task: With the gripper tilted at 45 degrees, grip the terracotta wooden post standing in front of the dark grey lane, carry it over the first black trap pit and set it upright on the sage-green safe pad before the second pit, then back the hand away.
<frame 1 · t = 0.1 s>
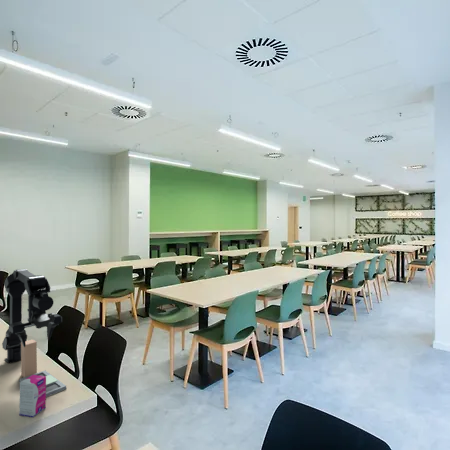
hand: (36, 343, 133), 15 cm above the table, tool pointing down, fingers open, 9 cm apart
supplement box: (33, 412, 110), on the table
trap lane: (41, 385, 127), on the table
terracotta post: (29, 374, 136), on the table
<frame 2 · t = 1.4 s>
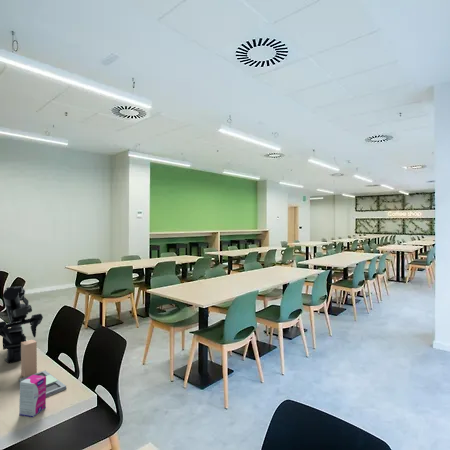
hand: (23, 339, 140), 13 cm above the table, tool tilted 45°, fingers open, 9 cm apart
nothing on the table moved.
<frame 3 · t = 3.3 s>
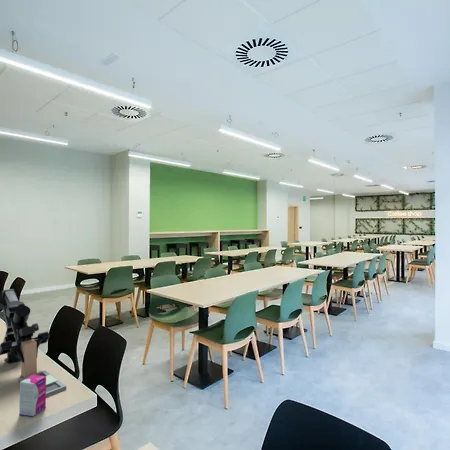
hand: (30, 360, 135), 7 cm above the table, tool tilted 45°, fingers closed on terracotta post, 4 cm apart
terracotta post: (29, 374, 136), on the table, touching gripper
everything else where it was.
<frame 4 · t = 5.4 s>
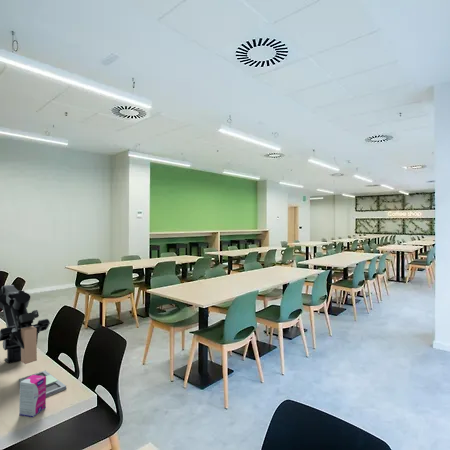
hand: (30, 346, 135), 13 cm above the table, tool tilted 45°, fingers closed on terracotta post, 4 cm apart
terracotta post: (29, 360, 136), point 6 cm above the table, touching gripper
everything else where it was.
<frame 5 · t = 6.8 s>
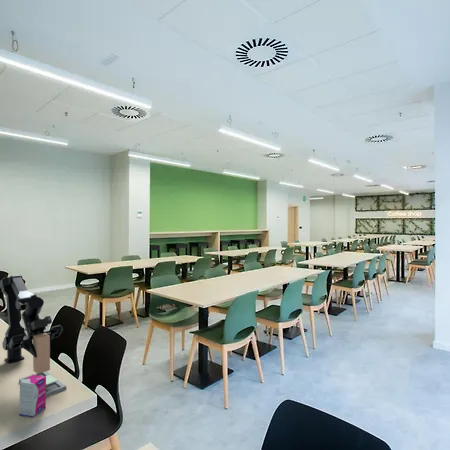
hand: (42, 355, 126), 13 cm above the table, tool tilted 45°, fingers closed on terracotta post, 4 cm apart
terracotta post: (41, 370, 127), point 6 cm above the table, touching gripper
everything else where it was.
when the fingers open (9 cm above the table, at t = 7.9 s): terracotta post drops 1 cm, resting on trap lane.
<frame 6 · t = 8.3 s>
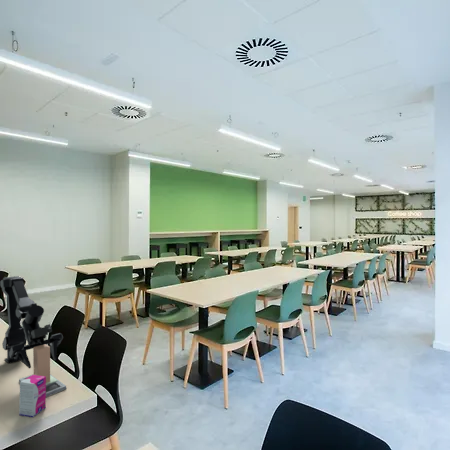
hand: (43, 363, 126), 9 cm above the table, tool tilted 45°, fingers open, 9 cm apart
terracotta post: (41, 381, 127), point 1 cm above the table, touching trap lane
everything else where it was.
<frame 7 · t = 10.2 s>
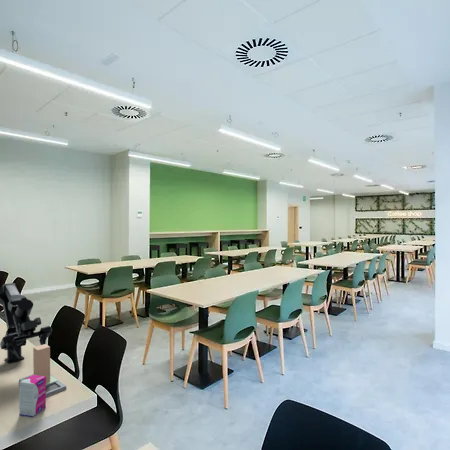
hand: (32, 354, 134), 10 cm above the table, tool tilted 45°, fingers open, 9 cm apart
nothing on the table moved.
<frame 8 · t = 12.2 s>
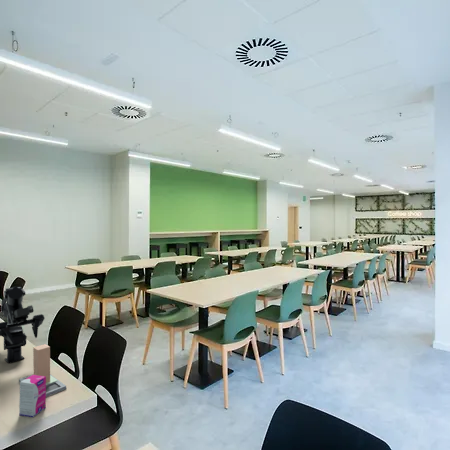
hand: (24, 340, 139), 14 cm above the table, tool tilted 45°, fingers open, 9 cm apart
nothing on the table moved.
at the end: terracotta post 0.0 cm from the target spot, point 1.4 cm above the table; terracotta post tilted 0°; the gripper is holding nothing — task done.
